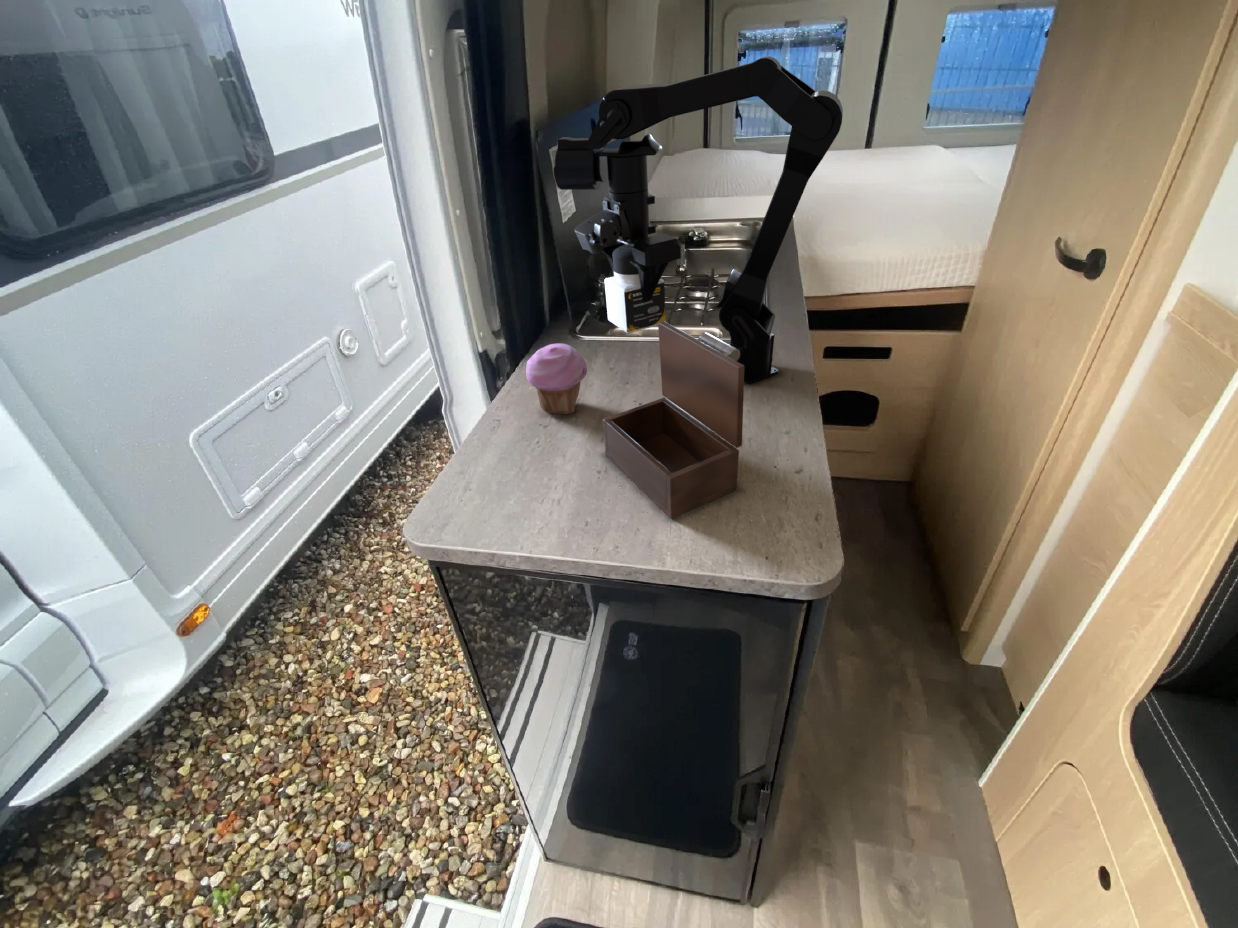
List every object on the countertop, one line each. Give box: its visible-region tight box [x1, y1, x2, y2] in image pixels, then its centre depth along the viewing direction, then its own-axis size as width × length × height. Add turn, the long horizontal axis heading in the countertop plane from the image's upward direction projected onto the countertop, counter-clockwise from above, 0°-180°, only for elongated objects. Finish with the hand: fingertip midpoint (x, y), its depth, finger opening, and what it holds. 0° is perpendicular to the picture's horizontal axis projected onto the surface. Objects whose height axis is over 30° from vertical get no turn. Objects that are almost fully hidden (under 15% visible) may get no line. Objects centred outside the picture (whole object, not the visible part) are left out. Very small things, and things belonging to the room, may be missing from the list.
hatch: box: [657, 321, 745, 449], centre depth 73 cm, size 10×16×4 cm
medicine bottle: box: [603, 245, 667, 334], centre depth 96 cm, size 7×7×12 cm
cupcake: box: [525, 342, 588, 415], centre depth 90 cm, size 9×9×10 cm
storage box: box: [602, 396, 740, 519], centre depth 76 cm, size 10×16×6 cm, turn 30°
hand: (634, 295), depth 96 cm, fingers closed on medicine bottle, 7 cm apart
